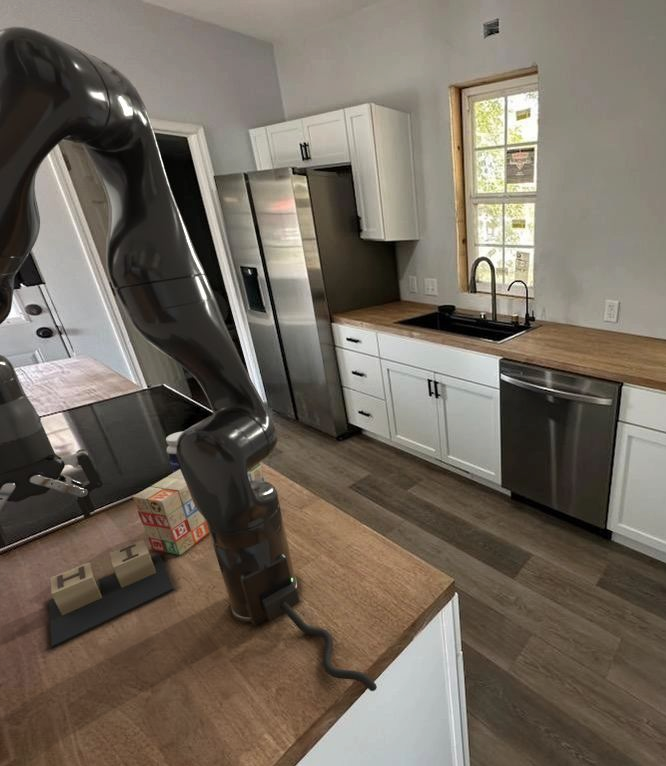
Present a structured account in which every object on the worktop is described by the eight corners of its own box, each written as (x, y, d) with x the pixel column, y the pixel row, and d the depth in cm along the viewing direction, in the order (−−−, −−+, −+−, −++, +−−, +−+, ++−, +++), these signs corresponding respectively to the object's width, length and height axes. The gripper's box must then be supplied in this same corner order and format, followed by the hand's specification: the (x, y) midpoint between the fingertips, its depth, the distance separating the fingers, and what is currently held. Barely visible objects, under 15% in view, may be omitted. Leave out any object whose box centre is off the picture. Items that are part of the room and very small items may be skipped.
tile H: (102, 598, 66) (92, 576, 65) (62, 615, 63) (50, 593, 61) (99, 582, 69) (89, 561, 67) (60, 598, 66) (49, 576, 64)
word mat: (174, 589, 69) (173, 588, 68) (52, 648, 59) (51, 646, 59) (160, 555, 75) (160, 553, 75) (49, 602, 66) (48, 600, 66)
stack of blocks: (243, 484, 96) (231, 438, 91) (266, 488, 95) (256, 441, 90) (151, 550, 76) (131, 495, 72) (179, 556, 75) (160, 501, 71)
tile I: (156, 572, 71) (148, 552, 70) (121, 588, 68) (112, 566, 66) (151, 559, 74) (143, 538, 72) (118, 573, 71) (109, 552, 69)
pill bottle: (168, 475, 99) (157, 438, 95) (193, 463, 104) (183, 428, 100) (184, 480, 97) (173, 443, 93) (209, 468, 102) (199, 433, 98)
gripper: (-95, 463, 48) (-31, 570, 54) (76, 423, 58) (115, 517, 63) (-84, 441, 52) (-26, 541, 58) (73, 407, 62) (109, 496, 68)
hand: (48, 528), depth 61 cm, fingers open, 8 cm apart
